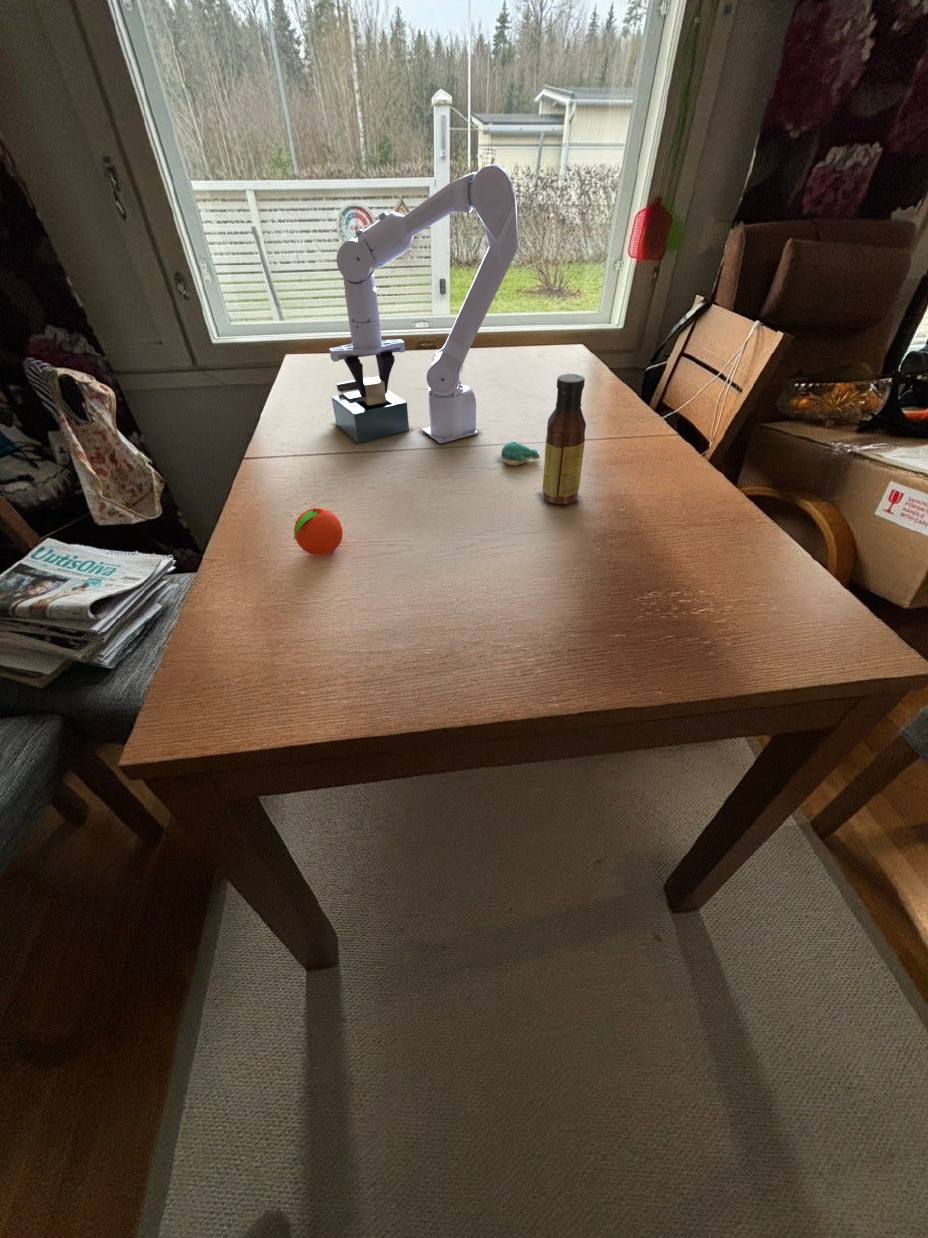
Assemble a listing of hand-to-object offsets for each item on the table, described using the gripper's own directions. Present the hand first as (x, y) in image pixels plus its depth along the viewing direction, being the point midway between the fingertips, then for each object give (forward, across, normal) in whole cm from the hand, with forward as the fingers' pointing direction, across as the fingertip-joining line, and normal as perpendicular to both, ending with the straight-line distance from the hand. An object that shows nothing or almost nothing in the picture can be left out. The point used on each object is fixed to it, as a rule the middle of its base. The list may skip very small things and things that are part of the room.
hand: (373, 393), depth 104 cm
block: (+1, 0, 0) cm, 1 cm away
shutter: (+2, -1, +7) cm, 8 cm away
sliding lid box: (+8, 0, +3) cm, 8 cm away
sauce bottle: (+8, +20, -41) cm, 46 cm away
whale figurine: (+8, +20, -26) cm, 34 cm away
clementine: (+8, -22, -39) cm, 46 cm away
